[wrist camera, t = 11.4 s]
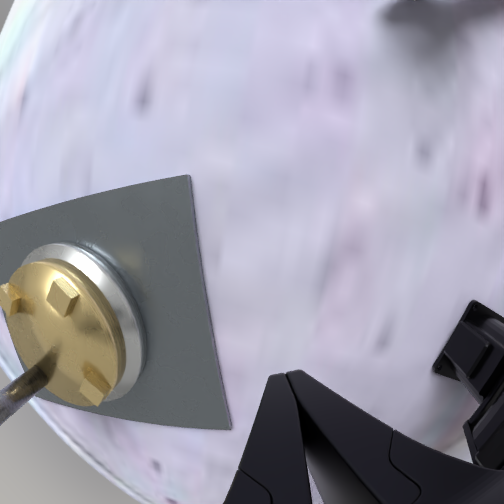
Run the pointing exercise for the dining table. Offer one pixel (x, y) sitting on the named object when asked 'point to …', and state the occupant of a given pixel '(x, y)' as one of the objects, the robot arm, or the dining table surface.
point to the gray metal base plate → (137, 295)
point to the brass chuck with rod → (61, 336)
